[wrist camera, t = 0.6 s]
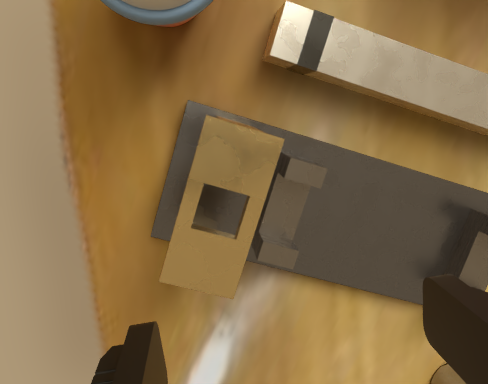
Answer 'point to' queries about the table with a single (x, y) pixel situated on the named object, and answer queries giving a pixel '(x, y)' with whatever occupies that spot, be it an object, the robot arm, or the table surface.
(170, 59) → the table surface
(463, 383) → the flower pot
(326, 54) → the pale grey long bar
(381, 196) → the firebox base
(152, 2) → the cup with straw
